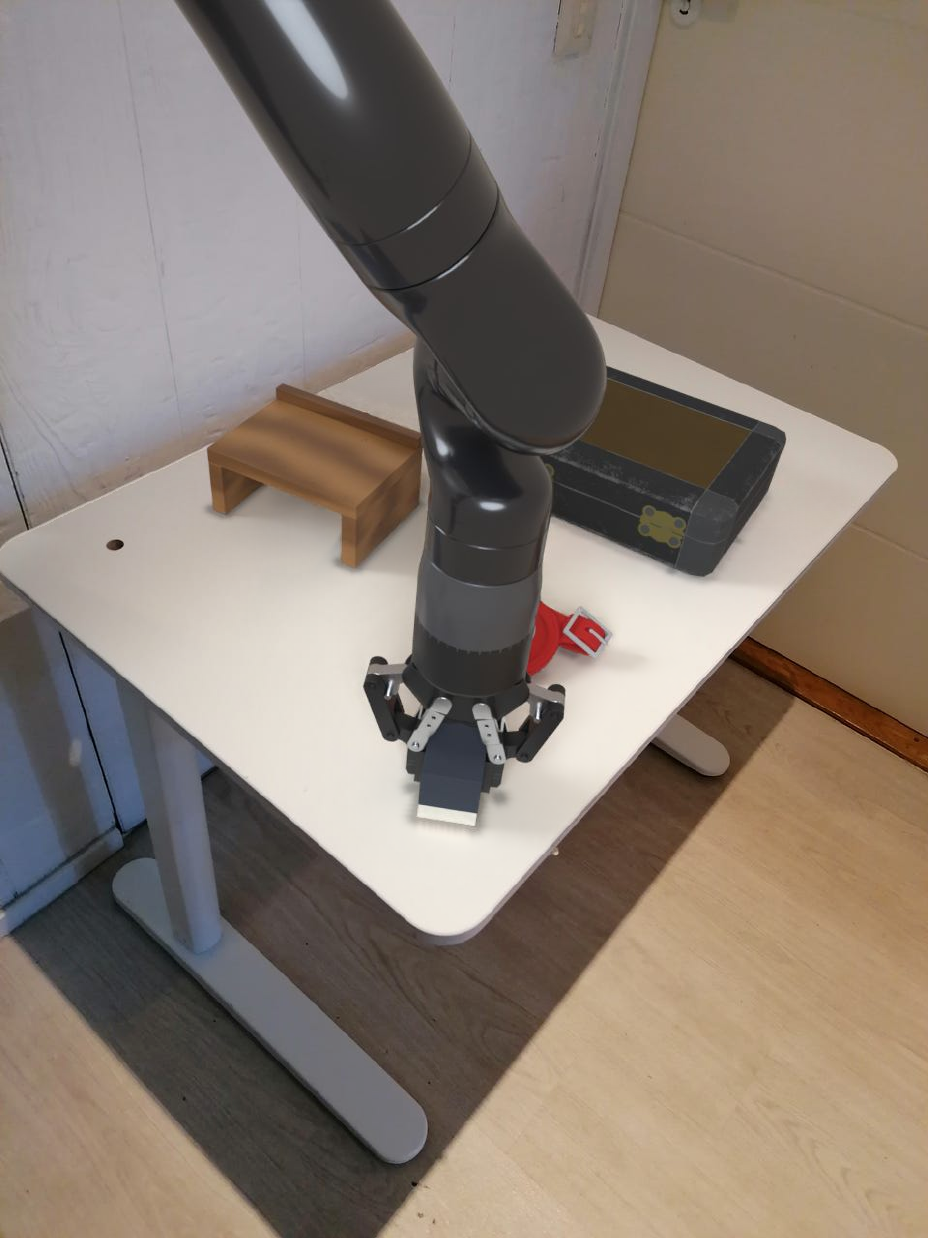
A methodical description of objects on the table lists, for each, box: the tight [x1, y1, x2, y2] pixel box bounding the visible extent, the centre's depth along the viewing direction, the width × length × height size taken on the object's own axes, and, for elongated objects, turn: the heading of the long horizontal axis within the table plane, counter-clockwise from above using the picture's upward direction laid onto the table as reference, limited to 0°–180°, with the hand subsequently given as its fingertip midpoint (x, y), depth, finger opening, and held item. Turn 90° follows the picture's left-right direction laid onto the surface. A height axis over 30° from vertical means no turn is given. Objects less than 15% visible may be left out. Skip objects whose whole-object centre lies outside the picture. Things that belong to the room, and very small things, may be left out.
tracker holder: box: [527, 600, 614, 677], centre depth 83 cm, size 12×4×10 cm
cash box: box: [540, 365, 787, 577], centre depth 100 cm, size 25×20×8 cm
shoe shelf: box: [206, 382, 424, 569], centre depth 92 cm, size 12×16×8 cm
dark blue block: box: [416, 722, 487, 827], centre depth 71 cm, size 10×4×5 cm, turn 173°
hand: (453, 777), depth 71 cm, fingers closed on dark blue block, 4 cm apart
